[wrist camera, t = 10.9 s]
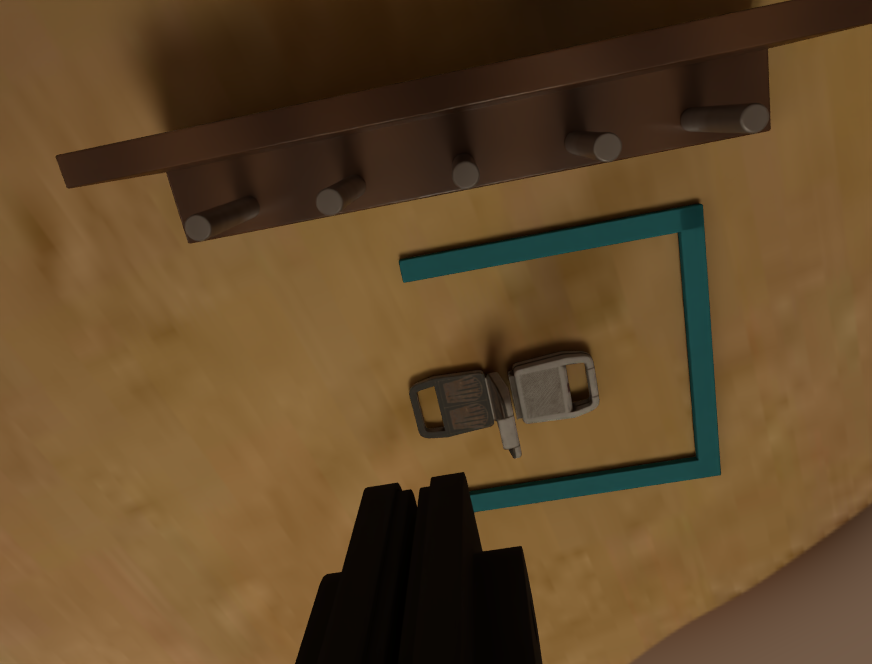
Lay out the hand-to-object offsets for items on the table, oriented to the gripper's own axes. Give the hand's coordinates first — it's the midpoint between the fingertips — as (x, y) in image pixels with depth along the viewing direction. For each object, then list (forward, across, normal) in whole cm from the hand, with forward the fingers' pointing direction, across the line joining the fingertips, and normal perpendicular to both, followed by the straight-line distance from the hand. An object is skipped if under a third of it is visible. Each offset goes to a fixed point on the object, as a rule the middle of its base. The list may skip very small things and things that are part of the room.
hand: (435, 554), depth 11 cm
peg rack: (+19, -1, -6) cm, 20 cm away
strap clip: (+19, -1, +6) cm, 20 cm away
